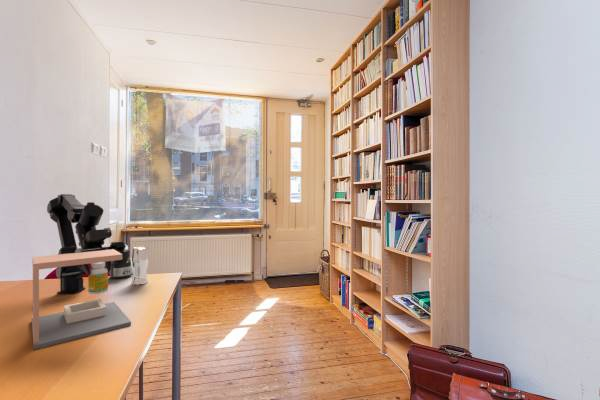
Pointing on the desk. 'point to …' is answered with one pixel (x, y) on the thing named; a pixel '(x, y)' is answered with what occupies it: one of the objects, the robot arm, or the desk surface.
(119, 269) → the ink bottle
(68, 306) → the awning socket
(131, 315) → the desk surface
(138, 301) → the desk surface
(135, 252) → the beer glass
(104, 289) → the supplement bottle
